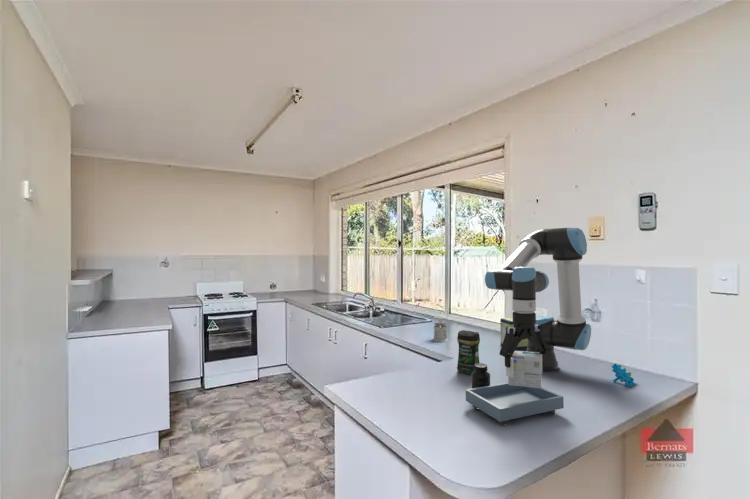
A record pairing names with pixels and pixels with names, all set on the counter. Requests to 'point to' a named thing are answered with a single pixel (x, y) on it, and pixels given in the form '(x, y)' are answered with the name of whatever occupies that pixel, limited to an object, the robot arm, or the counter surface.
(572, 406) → the counter surface
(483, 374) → the supplement bottle
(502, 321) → the protein box
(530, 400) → the tote
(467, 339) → the coffee jar
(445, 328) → the french press
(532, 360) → the light bulb box
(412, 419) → the counter surface
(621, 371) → the gear
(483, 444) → the counter surface
